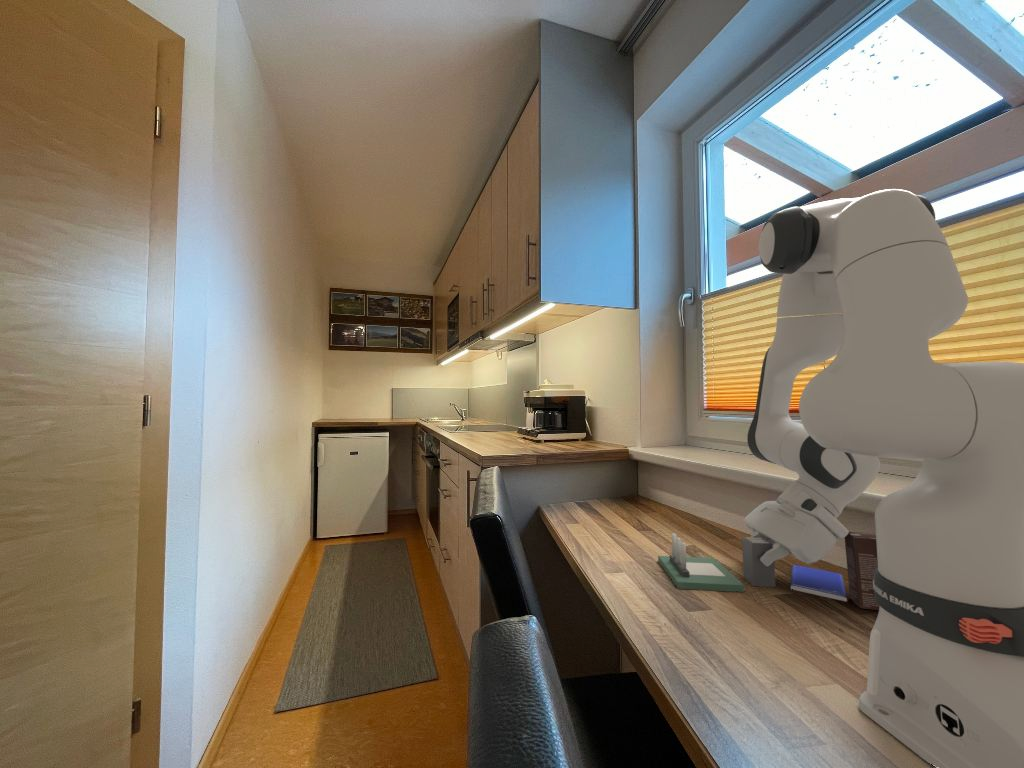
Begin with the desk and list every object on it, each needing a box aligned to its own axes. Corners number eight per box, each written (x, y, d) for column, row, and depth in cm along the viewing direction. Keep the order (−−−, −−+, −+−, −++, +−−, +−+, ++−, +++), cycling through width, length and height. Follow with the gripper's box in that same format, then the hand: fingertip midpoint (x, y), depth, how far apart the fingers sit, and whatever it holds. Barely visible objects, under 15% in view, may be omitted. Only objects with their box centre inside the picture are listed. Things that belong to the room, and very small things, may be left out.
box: (888, 603, 69) (884, 533, 70) (904, 615, 65) (899, 540, 66) (846, 597, 71) (842, 529, 72) (859, 609, 67) (854, 536, 68)
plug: (775, 586, 75) (773, 543, 76) (753, 585, 76) (751, 542, 76) (764, 578, 79) (762, 537, 80) (743, 577, 80) (741, 536, 80)
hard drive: (846, 595, 69) (842, 573, 79) (790, 583, 74) (792, 564, 84) (847, 605, 69) (842, 581, 79) (790, 592, 74) (792, 571, 84)
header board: (744, 591, 73) (743, 552, 74) (677, 588, 74) (676, 549, 75) (714, 563, 87) (713, 530, 87) (658, 561, 88) (657, 528, 89)
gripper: (764, 487, 88) (720, 530, 89) (827, 509, 68) (769, 564, 68) (786, 508, 87) (741, 551, 88) (856, 536, 67) (798, 592, 67)
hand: (754, 557), depth 78 cm, fingers closed on plug, 4 cm apart
